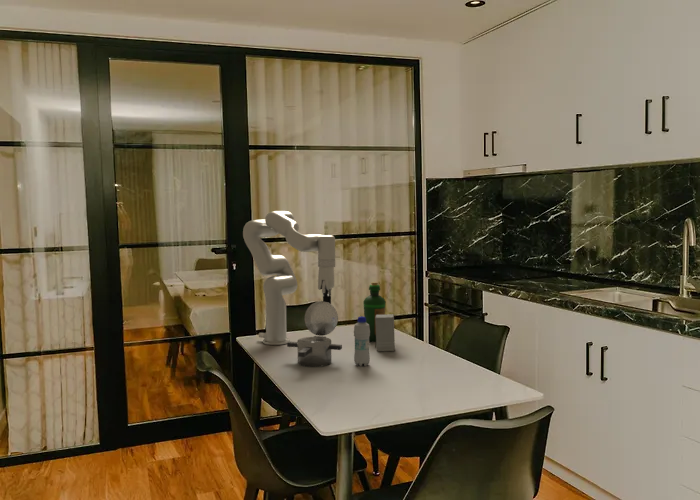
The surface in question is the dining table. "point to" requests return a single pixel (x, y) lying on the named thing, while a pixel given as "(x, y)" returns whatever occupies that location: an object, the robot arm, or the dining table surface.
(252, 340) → the dining table surface
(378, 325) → the skincare box
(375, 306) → the bottle
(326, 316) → the lid
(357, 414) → the dining table surface
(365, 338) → the bottle
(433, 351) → the dining table surface
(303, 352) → the cooker
